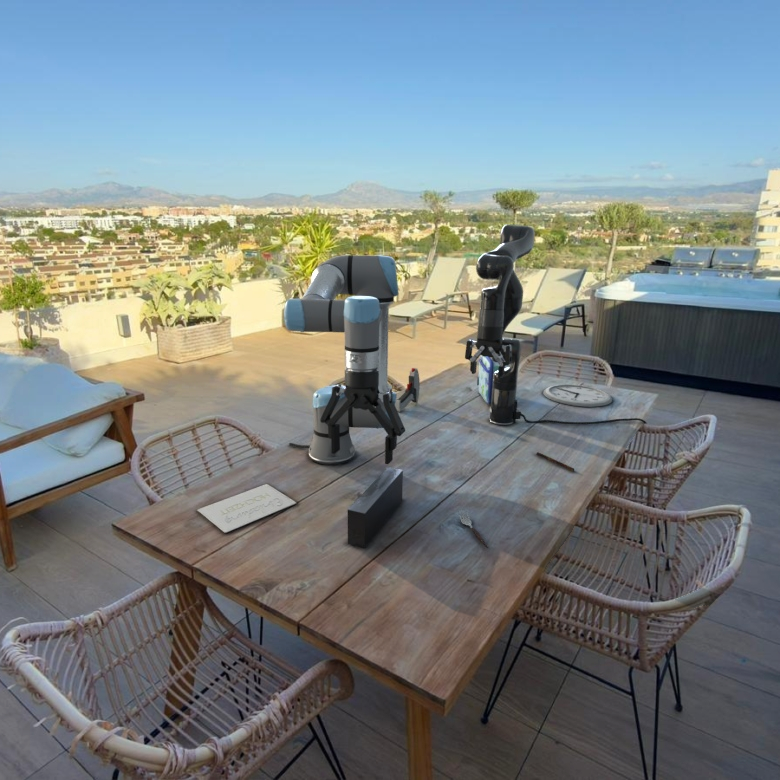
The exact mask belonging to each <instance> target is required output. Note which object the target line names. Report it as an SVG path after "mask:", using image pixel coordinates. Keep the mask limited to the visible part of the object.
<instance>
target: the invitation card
mask: <svg viewBox="0 0 780 780" xmlns="http://www.w3.org/2000/svg"><path fill="white" fill-rule="evenodd" d="M296 504H297V501H295V500H294V499H291V498H290V497H289V496H287V495H285V494H283V493H282V492H280V491H279V490H277V489H276V488H274V487H273V486H271V485H269V484H267V483H265V484H263V485H260V486H257V487H254V488H251V489H249V490H245V491H244V492H241V493H238V494H235V495H232V496H230V497H227V498H224V499H222V500H219V501H216V502H214V503H211V504H209V505H206V506H203V507H201V508H198V509H197V510H196V511H197V512H198V513H200V514H201V515H202V516H203V517H205V519H207V520H209V522H211V523H212V524H213V525H215V526H216V527H217V528H218V529H219V530H221V532H223V533H224V534H227V533H229V532H231V531H234V530H236V529H239V528H241V527H243V526H246V525H248V524H251V523H253V522H256V521H258V520H260V519H263V518H265V517H267V516H270V515H272V514H275V513H277V512H279V511H281V510H284V509H287V508H289V507H291V506H294V505H296Z"/></svg>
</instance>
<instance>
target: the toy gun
mask: <svg viewBox="0 0 780 780" xmlns="http://www.w3.org/2000/svg"><path fill="white" fill-rule="evenodd" d="M420 380H421V379H420V373H419V370H418V368H416V367H412V368H411V369H410V371H409V375H408V383H406V389H405V391H404V393H403V394H402V395H400V396H399V398H398V399H397V398H396V402H395V407H396V409H397V412H398V413H399V412H400V413H401V412H402V411H403V410H404V409H406V408H407V407H408V405H409V404H410V403H411V402H412V404H415V405H418V403H419V397H420V389H421V388H420V384H421V383H420V382H421V381H420Z"/></svg>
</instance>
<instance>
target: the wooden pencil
mask: <svg viewBox="0 0 780 780" xmlns="http://www.w3.org/2000/svg"><path fill="white" fill-rule="evenodd" d="M535 455H536V456H538V457H541V458H543V459H545V460H547V461H549V462H552V463H553V464H555V465H558V466H560V467H562V468H564V469H566V470H569V471H571V472H575V468H574V467H572V466H570V465H567V464H566V463H564V462H561V461H558V460H557V459H554V458H552V457H549V456H548V455H546V454H543V453H541V452H539V451H537V452H536V454H535Z"/></svg>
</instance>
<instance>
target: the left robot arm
mask: <svg viewBox="0 0 780 780" xmlns="http://www.w3.org/2000/svg"><path fill="white" fill-rule="evenodd" d="M338 295H346V296H347V295H349V296H348V297H346V299H336V297H337V296H338ZM398 296H399V284H398V275H397V266H396V260H395V259H394V258H393V257H392V256H387V255H378V254H377V255H375V254H373V255H371V254H370V255H361V254H360V255H359V254H357V255H356V254H355V255H352V254H351V255H349V254H343V255H337V256H334V257H331V258H329V259H327V260H325V261H322V262H321V263H320V264H319V265H317V266H316V268H315V269H314V270H313V272H312V274H311V277H310V284H309V286H308V287H307V288H306V291H305V293H304V294H303V296H302V297H301V298H299V297H297V298H289V299H287V300H286V302H285V304H284V309H283V312H284V313H283V315H284V324H285V327H286V329H287V330H288V331H290V332H300V333H344V367H345V369H344V385H342V384H341V383H338V384H335V385H327V386H324V387H321V388H319V389H317V390H316V391H315V392H314V393H313V396H312V419H313V422H312V423H313V435H312V439H311V442H310V444H309V445H308V444H296V443H293V442H289V443H288V445H289V446H290V447H294V448H299V449H308V458H309V460H311V462H314V463H317V464H319V465H328V466H330V465H331V466H333V465H334V466H335V465H341V464H345V463H348V462H351V461H352V460H353V459H354V458H355V457H356V448H355V447H356V446H355V445H354V444H353V440H352V437H351V434H350V428H357V429H358V428H363V429H364V428H366V429H383V430H384V431H385V432H386V434H387V435H386V436H385V437H384V440H385V442H384V464H385V465H389V464H390V463H391V462H392V461H393V460H394V451H395V449H397V446H398V445H397V444H398V441H397V440H398V437H400V436H402V435H403V434H404V433H405V432H406V428H405V426H404V423H403V421H402V418H401V416H400V414H399V411H397V409H396V407H395V402H396V400H397V392H395V391H393V386H392V385H391V384H390V383H389V382H388V374H389V372H388V371H389V370H388V369H389V368H388V367H389V366H388V365H389V364H388V363H389V362H388V361H389V308H390V306H391V305H392V304H393V303H394V302H395V301H394V300H395V297H398Z"/></svg>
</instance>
